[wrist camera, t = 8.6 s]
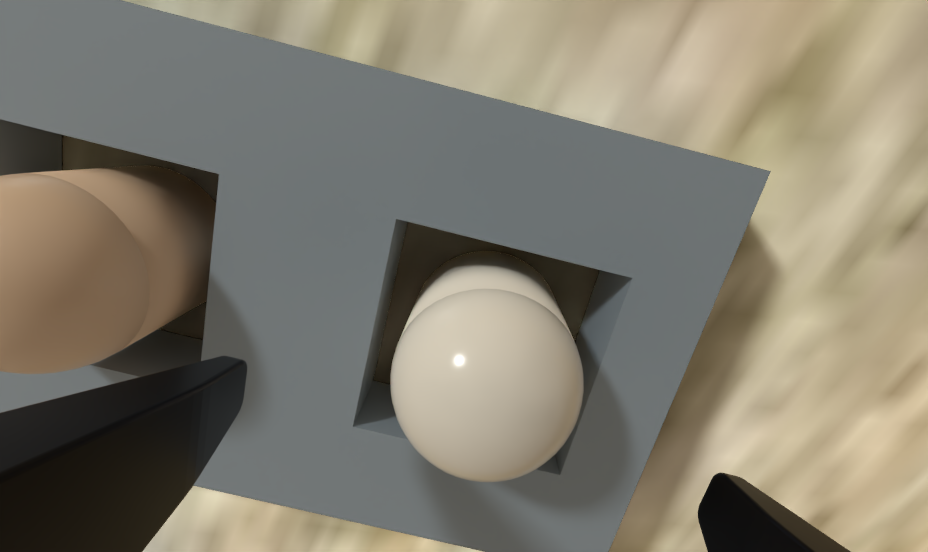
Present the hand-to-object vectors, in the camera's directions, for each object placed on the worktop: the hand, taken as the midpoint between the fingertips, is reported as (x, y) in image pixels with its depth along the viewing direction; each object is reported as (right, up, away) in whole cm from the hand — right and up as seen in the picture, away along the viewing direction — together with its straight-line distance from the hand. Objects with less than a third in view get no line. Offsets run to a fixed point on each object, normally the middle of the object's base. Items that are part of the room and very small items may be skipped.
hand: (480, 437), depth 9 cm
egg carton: (-5, +3, +5) cm, 8 cm away
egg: (0, +2, +6) cm, 6 cm away
